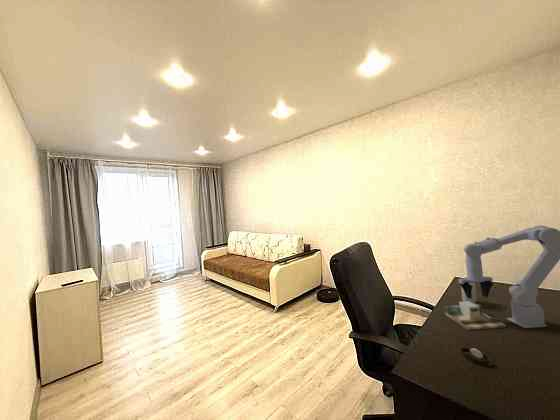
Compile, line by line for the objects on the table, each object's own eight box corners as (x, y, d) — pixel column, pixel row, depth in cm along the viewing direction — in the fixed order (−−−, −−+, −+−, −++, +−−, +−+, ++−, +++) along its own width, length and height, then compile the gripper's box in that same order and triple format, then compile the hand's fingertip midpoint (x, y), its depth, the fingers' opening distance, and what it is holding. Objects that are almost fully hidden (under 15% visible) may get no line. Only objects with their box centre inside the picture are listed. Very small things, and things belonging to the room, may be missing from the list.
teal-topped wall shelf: (478, 312, 110) (477, 303, 110) (505, 327, 96) (504, 316, 96) (445, 314, 111) (444, 305, 111) (468, 329, 97) (467, 319, 97)
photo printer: (468, 299, 125) (466, 277, 125) (478, 301, 121) (475, 279, 121) (461, 305, 119) (459, 282, 119) (471, 307, 116) (469, 284, 116)
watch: (491, 363, 77) (490, 352, 77) (487, 369, 75) (486, 358, 75) (464, 352, 84) (463, 342, 84) (459, 357, 81) (458, 347, 81)
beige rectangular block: (469, 313, 108) (468, 301, 108) (481, 319, 102) (479, 306, 102) (460, 313, 109) (459, 301, 109) (471, 320, 102) (469, 307, 102)
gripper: (482, 265, 110) (485, 292, 110) (452, 268, 111) (455, 295, 111) (495, 269, 103) (498, 298, 103) (464, 272, 104) (466, 301, 104)
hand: (477, 297), depth 107 cm, fingers open, 7 cm apart
